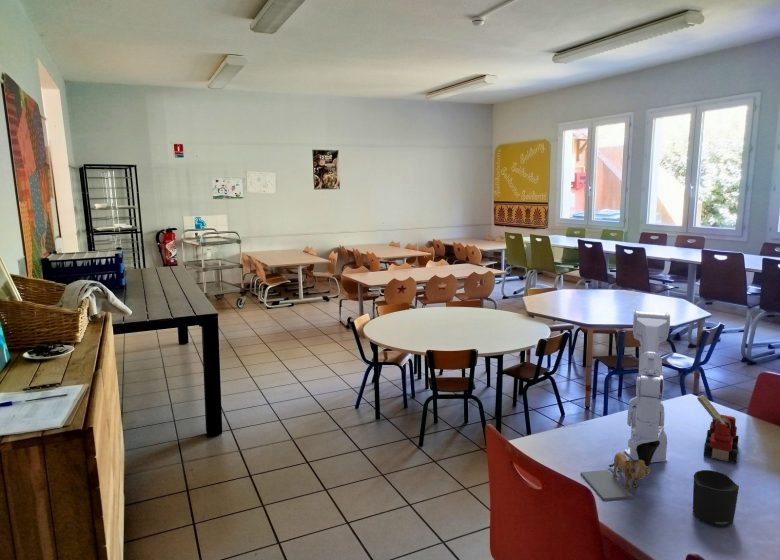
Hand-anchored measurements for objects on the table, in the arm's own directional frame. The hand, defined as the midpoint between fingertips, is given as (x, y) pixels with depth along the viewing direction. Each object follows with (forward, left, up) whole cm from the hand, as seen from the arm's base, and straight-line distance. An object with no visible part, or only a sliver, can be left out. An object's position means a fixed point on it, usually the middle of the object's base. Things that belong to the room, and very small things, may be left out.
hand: (644, 464), depth 147 cm
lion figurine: (+4, -1, -6) cm, 7 cm away
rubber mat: (+11, 0, -5) cm, 12 cm away
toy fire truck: (-32, -13, -6) cm, 35 cm away
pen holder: (-8, +17, -6) cm, 19 cm away
